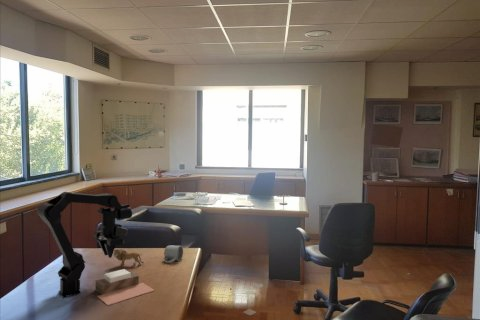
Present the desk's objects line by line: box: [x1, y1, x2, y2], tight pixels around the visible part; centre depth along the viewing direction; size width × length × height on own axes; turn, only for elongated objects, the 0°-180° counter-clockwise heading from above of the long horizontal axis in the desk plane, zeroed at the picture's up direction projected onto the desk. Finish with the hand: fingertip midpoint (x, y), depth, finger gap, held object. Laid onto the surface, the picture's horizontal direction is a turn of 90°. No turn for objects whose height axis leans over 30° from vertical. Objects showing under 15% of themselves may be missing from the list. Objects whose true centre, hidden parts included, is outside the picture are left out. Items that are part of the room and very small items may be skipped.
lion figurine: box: [113, 247, 145, 268], centre depth 173 cm, size 15×5×9 cm, turn 108°
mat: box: [97, 282, 155, 306], centre depth 141 cm, size 20×10×1 cm, turn 134°
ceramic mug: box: [163, 244, 184, 264], centre depth 182 cm, size 11×8×8 cm
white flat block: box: [103, 268, 131, 283], centre depth 147 cm, size 9×6×2 cm, turn 134°
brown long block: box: [94, 270, 140, 295], centre depth 147 cm, size 16×7×4 cm, turn 134°
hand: (108, 256), depth 154 cm, fingers open, 4 cm apart
